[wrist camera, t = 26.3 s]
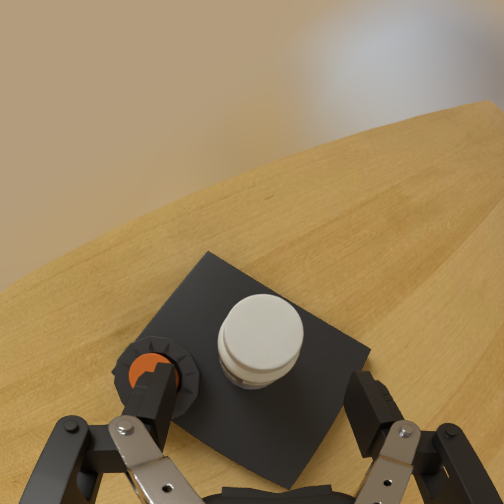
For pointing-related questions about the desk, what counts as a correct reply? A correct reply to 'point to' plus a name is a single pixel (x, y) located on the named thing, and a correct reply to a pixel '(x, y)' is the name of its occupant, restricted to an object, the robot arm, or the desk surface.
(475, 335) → the desk surface
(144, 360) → the button
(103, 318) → the desk surface
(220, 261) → the black flat block
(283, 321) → the pill bottle
